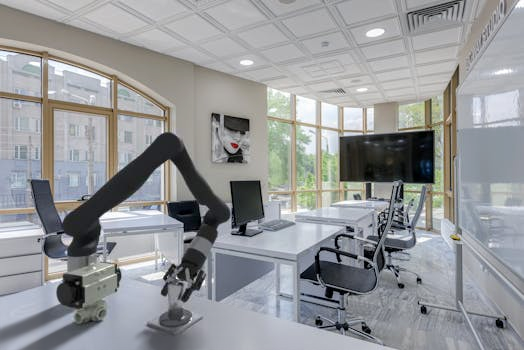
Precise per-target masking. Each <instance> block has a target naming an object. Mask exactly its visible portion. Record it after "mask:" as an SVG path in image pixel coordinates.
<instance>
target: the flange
mask: <svg viewBox="0 0 524 350" xmlns="http://www.w3.org/2000/svg"><path fill="white" fill-rule="evenodd" d="M201 319H204V314H203V313H199V312H195V311H192V310H188V309H185V308H184V316H183V317H182V318H181V319H178V320H170V319H169V318H168V310H167V311H164V312H163V313H161V314H159V315H158V316H155V317H154V318H152V319H151V320H148V321H147V323H146V324H147V326H151V327H153V328H156V329H159V330H161V331H163V332H166V333H169V334H172V335H175V336H177V335H178V334H180V333H181V332H183V331H184V330H186V329H188V328H189V327H190V326H192V325H194V324H195V323H197V322H198V321H199V320H201Z"/></svg>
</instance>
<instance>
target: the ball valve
mask: <svg viewBox="0 0 524 350" xmlns="http://www.w3.org/2000/svg"><path fill="white" fill-rule="evenodd" d="M121 280H122V271H121V269H120V267H119V266H118V263H114V262H107V261H97V263H95V264H94V263H89V266H86V267H83V268H80V269H77V270H74V271H71V272H68V273H67V272H65V273H63V274H62V279H61V283H59V284H58V285H57V287H56V290H55V291H56V298H57V300H58V302H59V303H60V304H61V305H62V306H65V307H68V308H72V309H78V310H77V311H75V312H74V315H73V319H74V322H75V323H76V324H79V325H80V324H86V323H88V322H89V321H93V322H98V321H101V320H103V319H105V317H106V316H107V313H108V310H107V309H108V307H109V305H108V302H107V301H106V299H105V298H107V297H109V296H111V295H114V293H117V292H118V288H120V282H121Z"/></svg>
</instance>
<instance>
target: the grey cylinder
mask: <svg viewBox="0 0 524 350" xmlns="http://www.w3.org/2000/svg"><path fill="white" fill-rule="evenodd" d="M184 292H185V284H184V282H183V281H179V282H173V283H170V284H169V285H168V294H167V311H168V318H169V319H170V320H178V319H181V318H182V317H183V316H184V309H185V308H184V307H185V303H184V302H182V301H181V297H182V295H183V293H184Z"/></svg>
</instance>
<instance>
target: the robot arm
mask: <svg viewBox="0 0 524 350" xmlns="http://www.w3.org/2000/svg"><path fill="white" fill-rule="evenodd" d="M169 160H170V161H171V162H172V164H173V165H174V167H176V168H177V170H178V172H179V173H180V174H181V177H182V178H183V180H184V182H185V184H186V186H187V188H188V190H189V192H190V193H191V195H192V196H193V197H194V199H195V201H196V202H197V203H198V204H199V205H200V206H205V207H206V208H207V209H208V210H207V211H206V213H205V214H204V216H203V218H202V221H201V225H200V227H199V229H198V230H197V232H196V235H195V236H194V237H193V239H191V242H190V243H189V245H188V247H187V249H185V252H184V253H183V256H182V257H181V259H180V260H181V261H180V264H178V265H176V264H175V263H174V262H173V263H171V265H170V266H169V268H168V269H167V271H166V272H165V274H164V276H163V277H162V280H163V281H164V282H165V283H164V285H163V287H162V288H161V291H160V295H161V296H162V297H168V285H169V284H170V283H173V282H185V283H186V284H187V285H186V286H187V288H185V289H184V293H183V295H182V297H181V301H182V302H184V304H185V303H187V302H188V301H189V299H190V298H191V295H192V293H193V292H195V291H198V292H199V291H200V290H201V287H202V286H203V283H204V280H205V278H206V276H207V273H206V272H205V271H204V270H203V267H204V265H205V263H206V261H207V259H208V257H209V255H210V253H211V250H212V248H213V246H214V244H215V242H216V240H217V238H218V235H219V231H218V227H219V226H220V225H221V224H224V223H227V222H228V221H229V220H230V219H231V215H232V214H231V209H230V208H229V206H228V204H227V203H226V202H225V201H224V200H223V199H222V198H221V197H220V196H218V195H217V194H216V193H215V192H214V190H213V189H212V187H211V186H210V185H209V183H208V182H207V180H206V179H205V177H204V176H203V175H202V173H201V172H200V170H199V169H198V168H197V166H196V164H195V163H194V160H192V157H191V156H190V155H189V152H188V150H187V148H186V146H185V143H184V140H183V139H182V137H181V136H180V135H178V134H177V133H174V132H172V131H165V132H163V133H160V134H159V135H157V137H156V138H155V139H154V140H153V141H152V142H151V143H150V144H149V146H147V147H146V149H144V151H143V152H142V153H140V154H139V155H138V156H137V157H135V158H134V159H132V160H131V161H130V162H129V163H127V164H126V165H125V166H124V167H123V168H121V169H119V171H118V172H117V173H115V174H114V175H113V176H112V177H110V179H109V180H108V181H107V182H105V183H104V185H102V186H101V187H100V188H98V190H97V191H96V192H95V193H94V194H93V195H91V197H90V198H88V199H87V200H86V201H84V202H83V203H82V204H80V205H79V206H77V207H76V208H74V209H73V210H71V211H70V212H69V213H67V214H66V215H65V216H64V217H63V220H62V224H61V229H62V232H63V233H64V234H65V235H67V236H69V237H71V238H72V241H71V242H70V244H69V245H68V247H67V249H66V254H67V255H66V258H67V260H66V264H67V266H66V267H67V272H66V273H68V272H71V271H74V270H77V269H80V268H83V267H86V266H89V263H94V264H95V263H98V245H99V244H100V243H99V242H100V228H101V227H100V226H101V225H100V224H101V222H100V218H101V217H102V216H103V215H105V214H106V213H108V212H109V211H110V210H112V209H115V207H118V206H119V205H120V204H122V203H123V202H125V201H126V200H127V199H129V198H131V196H133V195H134V194H135V193H137V192H138V190H140V189H141V188H142V187H143V186H144V185H145V183H146V182H147V181H148V180H149V178H150V177H151V176H152V174H153V173H154V172H155V171H156V170H157V169H158V168H159V167H160V166H162V165H163V164H164V163H166V162H167V161H169Z"/></svg>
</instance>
